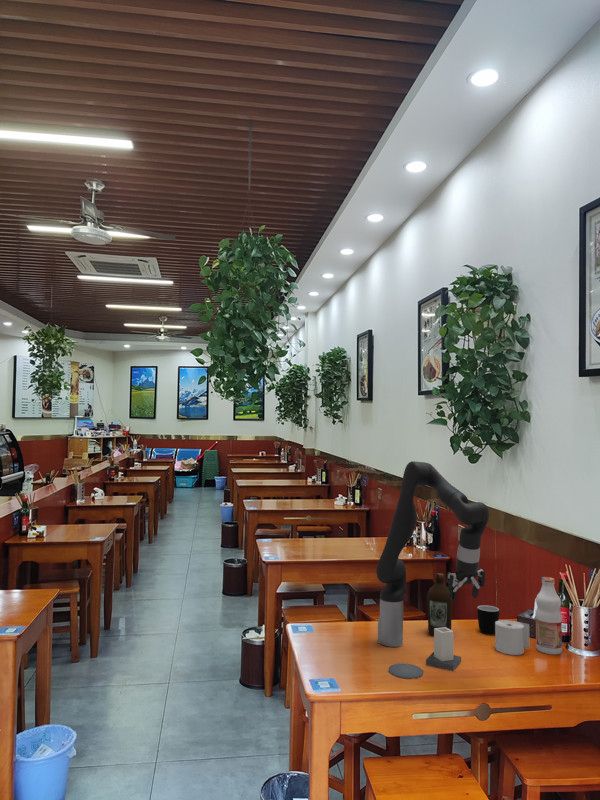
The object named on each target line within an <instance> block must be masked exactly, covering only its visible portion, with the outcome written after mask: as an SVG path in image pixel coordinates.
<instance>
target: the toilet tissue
mask: <svg viewBox="0 0 600 800" xmlns="http://www.w3.org/2000/svg"><path fill="white" fill-rule="evenodd" d="M494 635H495V637H494V640H495V641H494V646H495V647H494V649H495V650H496V651H497V652H499V653H501V654H505V655H509V656H521V655H523V654H525V649H528V650H529V649H530V624H529V623H525V622H521V621H514V620H508V619H506V620H505V619H504V620H502V619H501V620H500V619H499V621H496V622H495V634H494Z"/></svg>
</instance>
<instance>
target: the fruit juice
mask: <svg viewBox="0 0 600 800" xmlns="http://www.w3.org/2000/svg"><path fill="white" fill-rule="evenodd" d="M555 583H556V579H555V578H553V577H550V576H542V577H541V584H542V585H541V587H540V591H539V592H538V593H537V595H536V598H535V602H536V606H537V608H536V610H535V646H536V647H535V648H536V650H538V652H539V653H540V652H541V653H543V654H547V655H560V654H562V652H563V629H562V628H563V624H562V623H563V622H562V621H563V619H562V617H563V616H562V612H561V606H562V600H561V598H560V596H559V595H558V593H557V591H556V589H555V588H556V587H555Z"/></svg>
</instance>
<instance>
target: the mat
mask: <svg viewBox="0 0 600 800" xmlns="http://www.w3.org/2000/svg"><path fill="white" fill-rule="evenodd" d="M388 673H389V674H390V675H392V676H394V677H396V678H400V679H406V680H413V679H412V678H415V679H419V678H421V677H423V676H422V675H424V670H423V669H422V668H421V667H420V666H418V665H415V664H411V663H404V662H401V663H400V662H399V663H394V664H391V665H389V666H388ZM418 677H419V678H418Z"/></svg>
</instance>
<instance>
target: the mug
mask: <svg viewBox="0 0 600 800" xmlns="http://www.w3.org/2000/svg"><path fill="white" fill-rule="evenodd" d="M476 611H477V612H476V613H477V623H478V628H479V631H480V633H481V634H484V635H488V634H490V635H492V634H494V635H495V622H496V621H499V620H500V609H499V608H498V607H496V606H493V605H485V604H484V605H478V606H477V610H476ZM490 635H489V636H490ZM492 636H493V635H492Z"/></svg>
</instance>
